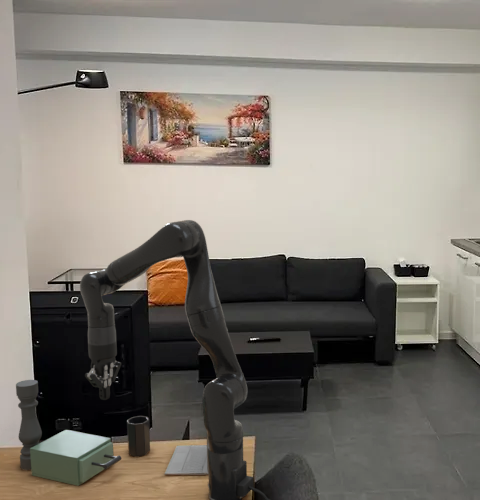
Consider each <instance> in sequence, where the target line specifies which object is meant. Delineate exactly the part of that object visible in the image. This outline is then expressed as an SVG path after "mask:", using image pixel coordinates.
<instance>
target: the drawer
mask: <svg viewBox="0 0 480 500" xmlns="http://www.w3.org/2000/svg"><path fill="white" fill-rule="evenodd" d="M114 455H115V453H114V442H112V441H111V442H109V443H107V444H106V445H103V446H101V447H100V448H98V449H96V450H95V451H93V452H91V453H90V454H88V455H86V456H85V457H83V458H81V459H79V473H80V482H83V483H82V484H84V483H85V482H87V481H88V480H90V479H91V478H93V477H95V476H96V475H97V473H98V474H99V473H101V472H103V471H104V470H107V469H109V468H110V467H112V466H114V465H115V464H117V463H118V462H120V461H121V460H122V456H121V455H120V454H119V455H116V456H114ZM94 475H95V476H94Z"/></svg>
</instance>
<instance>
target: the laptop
mask: <svg viewBox="0 0 480 500" xmlns="http://www.w3.org/2000/svg"><path fill="white" fill-rule="evenodd" d="M164 475H177V476H178V475H179V476H181V475H185V476H186V475H188V476H189V475H194V476H197V475H198V476H199V475H201V476H202V475H208V434H207V433H206V444H194V445H193V444H191V445H190V444H189V445H186V444H185V445H176V446H175V449H174V451H173V454H172V456H171V458H170V460H169V462H168V465H167V467H166V469H165V472H164Z"/></svg>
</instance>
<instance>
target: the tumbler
mask: <svg viewBox="0 0 480 500" xmlns="http://www.w3.org/2000/svg"><path fill="white" fill-rule="evenodd" d="M126 429H127V430H126V434H127V453H128V455H129V456H131V457H136V458H138V457H139V458H140V457H143V456H146V455H148V453H149V452H151V436H150V435H151V434H150V433H151V431H150V419H149V417H148V416H145V415H137V416H133V417H130V418H128V419H127V420H126Z"/></svg>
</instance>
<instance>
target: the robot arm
mask: <svg viewBox="0 0 480 500" xmlns="http://www.w3.org/2000/svg"><path fill="white" fill-rule="evenodd" d="M174 258H183V260H184V265H185V268H186V273H187V284H186V291H185V298H184V311H185V315H186V319H187V323H188V326H189V329H190V332H191V334H192V336H193V337H194V339H195V340H196V341H197V342H198V344H199V345H200V346H201V347H202V349H204V350H205V351H206V353H207V354H208V356H209V357H210V359H211V361H212V364H213V369H214V372H215V375H216V378H215V379H213V380H211V381H209V382H208V383H207V384H206V385H205V386H204V388H203V391H202V398H201V399H202V413H203V414H202V415H203V425H204V428H205V430H206V435H207V434H208V474H207V477H208V479H207V481H208V483H207V487H208V500H243V498H245V497H246V496H247V495H248V494H249V493H250V492H251V491H253V492H255V493H257V494H258V495H260V496H261V497H262V498H263V499H264V500H270V498H269V497H267V496H266V494H265V493H264V492H263V491H261V490H260V489H258V488H256V487H254V486H255V485H254V484H255V483H254V480H255V479H254V476H251V475H248V473H247V472H248V471H247V467H248V466H247V463H248V462H247V460H244V427H243V424H242V422H240V420H237V419H235V409H236V408H238V407H239V406H241V405H242V404H243V403H245V401H246V400H247V397H248V394H249V393H248V385H247V380H246V378H245V376H244V372H243V371H242V368H241V365H240V363H239V360H238V358H237V355H236V352H235V350H234V346H233V343H232V340H231V336H230V333H229V330H228V326H227V323H226V318H225V314H224V310H223V307H222V304H221V300H220V297H219V295H218V290H217V287H216V283H215V279H214V275H213V272H212V267H211V262H210V256H209V249H208V244H207V239H206V234H205V232H204V229H203V228H202V226H201V225H200V224H199V223H198V222H197V221H195V220H192V219H185V220H178V221H172V222H168V223H167V224H165V225H164V226H162V227H161V228H160V229H159V230H157V232H155V233H154V234H153V235H152V236H151V237H150V238H149V239H148V240H146V241H144V242H143V243H142V244H140V245H139V246H138V247H136V248H134V249H132V250H131V251H129V252H127V253H125V254H123V255H122V256H119V257H118V258H117V259H115V260H113V261H111V262H110V263H108V266H107V267H106V268H104V269H100V270H96V271H91V272H87V273H85V274H84V275H83V276H82V277H81V280H80V282H79V291H80V294H81V297H82V300H83V303H84V307H85V309H86V312H87V327H88V328H87V350H88V358H89V359H90V360H91V363H90V370H89V372H85V374H84V378H86V380H87V381H88V382H89V383H90V385H91V386H92V387H94V388H98V394H99V395H98V397H99V399H100V400H101V401H107V400H109V399H110V398H111V385H112V383H115V381H116V379H117V376H118V373H119V372H120V369H121V367H122V361H117V360H116V356H117V355H118V347H117V346H118V345H117V344H118V343H117V328H116V321H115V319H116V318H115V308H114V305H113V304H111V303H109V302H104V300H103V296H107V295H110V294H113V293H115V292H116V291H117V292H118V291H119V290H120V289H121V288H123V286H125V285H126V284H128V283H130V282H132V281H134V280H135V279H138V278H139V277H141V276H143V275H144V274H145V273H146V272H147V271H148V270H149V269H150V268H151V267H152V266H153V265H156V264H158V263H160V262H163V261H167V260H171V259H174Z"/></svg>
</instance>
